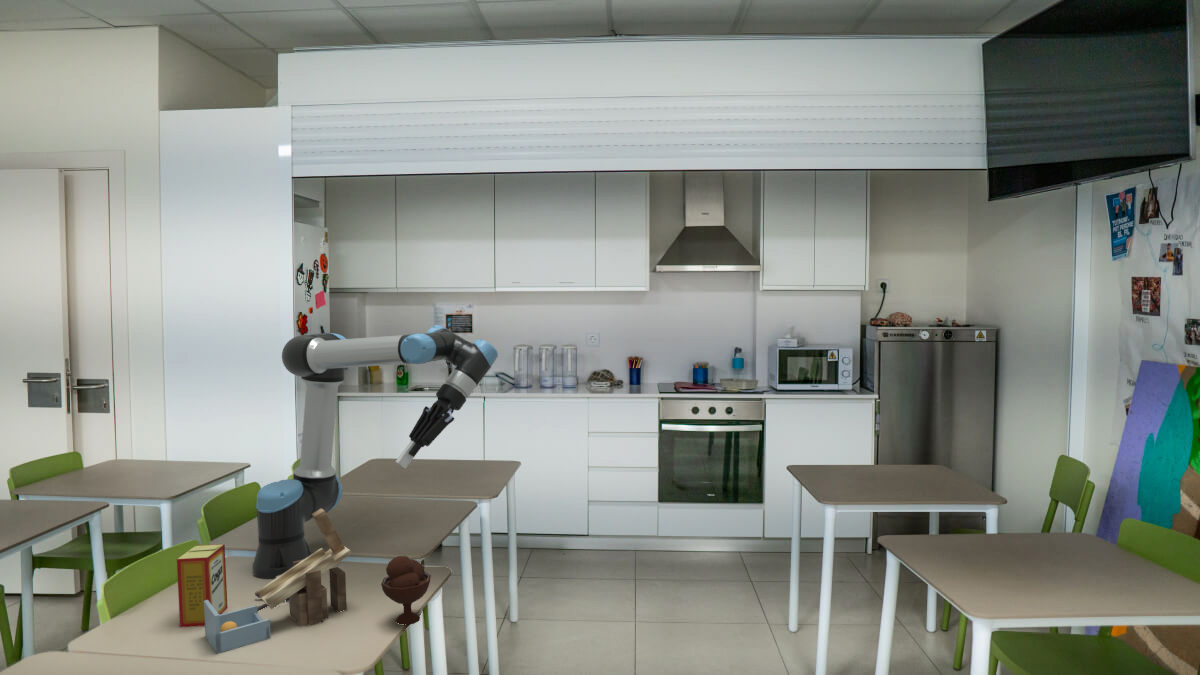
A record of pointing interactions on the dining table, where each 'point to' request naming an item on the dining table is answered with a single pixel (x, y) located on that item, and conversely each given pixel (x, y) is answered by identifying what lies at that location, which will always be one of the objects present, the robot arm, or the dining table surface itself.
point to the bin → (246, 632)
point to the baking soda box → (201, 583)
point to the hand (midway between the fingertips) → (400, 465)
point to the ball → (228, 626)
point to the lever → (306, 565)
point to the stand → (318, 597)
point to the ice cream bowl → (405, 585)
